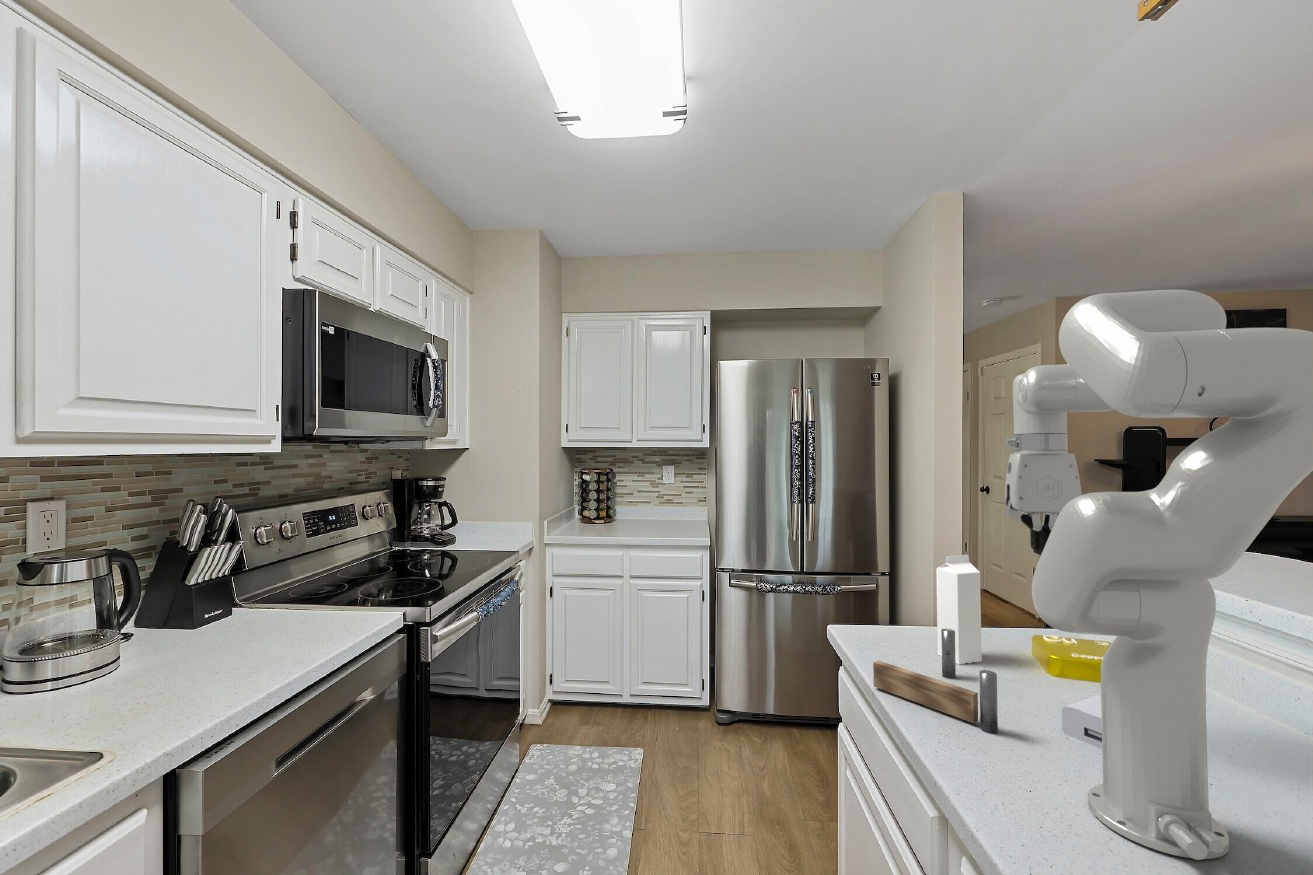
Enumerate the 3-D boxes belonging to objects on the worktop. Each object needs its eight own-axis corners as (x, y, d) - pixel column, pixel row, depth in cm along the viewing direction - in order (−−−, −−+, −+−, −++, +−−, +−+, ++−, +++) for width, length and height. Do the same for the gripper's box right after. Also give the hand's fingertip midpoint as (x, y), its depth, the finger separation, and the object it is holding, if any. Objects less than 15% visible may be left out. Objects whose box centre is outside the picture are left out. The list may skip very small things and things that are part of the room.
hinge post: (1000, 734, 89) (999, 676, 89) (983, 732, 90) (982, 675, 90) (994, 726, 91) (993, 670, 92) (978, 725, 92) (977, 669, 92)
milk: (981, 662, 120) (981, 557, 120) (958, 665, 118) (957, 558, 118) (959, 652, 125) (958, 552, 126) (936, 654, 124) (935, 553, 124)
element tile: (1049, 678, 112) (1049, 653, 112) (1029, 653, 126) (1029, 631, 126) (1144, 689, 106) (1143, 663, 107) (1112, 661, 120) (1111, 639, 121)
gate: (978, 720, 93) (977, 692, 93) (973, 723, 92) (973, 695, 92) (878, 684, 107) (878, 660, 107) (873, 686, 106) (873, 661, 106)
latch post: (957, 679, 111) (956, 632, 111) (944, 678, 111) (943, 631, 111) (953, 674, 113) (952, 628, 113) (940, 673, 113) (939, 628, 114)
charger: (1182, 738, 88) (1132, 762, 81) (1112, 714, 96) (1062, 734, 89) (1181, 707, 88) (1131, 729, 81) (1112, 686, 96) (1061, 703, 90)
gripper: (999, 445, 94) (1002, 556, 94) (1103, 444, 91) (1105, 559, 90) (983, 445, 101) (985, 548, 101) (1078, 445, 98) (1081, 551, 98)
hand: (1042, 553), depth 96 cm, fingers closed
